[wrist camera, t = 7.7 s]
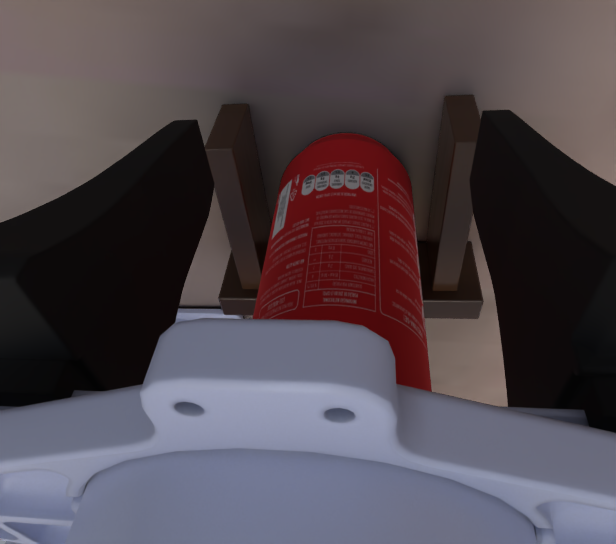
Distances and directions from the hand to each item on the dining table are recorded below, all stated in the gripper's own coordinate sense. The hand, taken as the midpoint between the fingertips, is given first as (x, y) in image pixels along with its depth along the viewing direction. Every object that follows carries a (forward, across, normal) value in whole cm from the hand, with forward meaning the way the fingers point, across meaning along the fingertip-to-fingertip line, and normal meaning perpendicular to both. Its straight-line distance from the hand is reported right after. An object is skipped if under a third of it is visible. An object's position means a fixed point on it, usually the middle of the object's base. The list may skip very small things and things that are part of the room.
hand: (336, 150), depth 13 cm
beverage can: (+6, 0, +5) cm, 7 cm away
